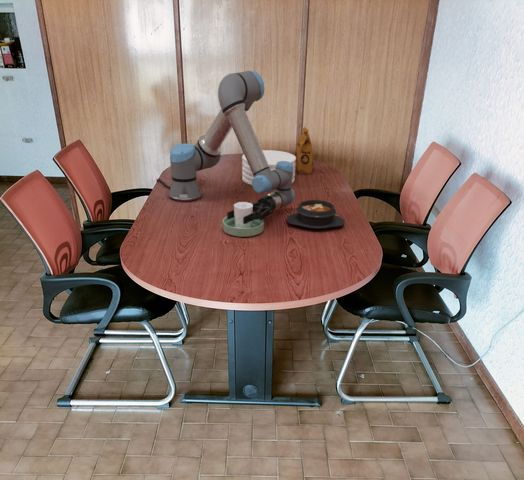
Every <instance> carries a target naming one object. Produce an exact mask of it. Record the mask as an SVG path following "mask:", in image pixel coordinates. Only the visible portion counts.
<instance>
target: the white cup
mask: <svg viewBox="0 0 524 480" xmlns="http://www.w3.org/2000/svg"><path fill="white" fill-rule="evenodd" d="M251 203H252V202H250V203H248V201H238V202H235V203H234V204H233V210H234V218H235V228H251V227H252V221H250V222H248V223H246V224H243V217H245V216H247V215H249V214H252V213H254V212H253V204H251Z"/></svg>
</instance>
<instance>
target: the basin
mask: <svg viewBox="0 0 524 480" xmlns="http://www.w3.org/2000/svg"><path fill="white" fill-rule="evenodd" d="M264 220H265V219H263V220H260V219H258V220H256V219H255V220H253V221H252V227H251V228H235V218H234V217H233V218H230V219H227V216H225V217H224V218H223V219H222V223H221V224H222V230H223V232H224V233H226V234H228V235H230V236H233V237H239V238H249V237H254V236H257V235H260V234H261V233H263V232H264V229H265V221H264Z"/></svg>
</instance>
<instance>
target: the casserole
mask: <svg viewBox="0 0 524 480" xmlns="http://www.w3.org/2000/svg"><path fill="white" fill-rule="evenodd" d="M296 212H297V213H292V214H290V215H288V216H287V217H286V221H287V223H288V224H290V225H293V226H299V227H302V228H303V227H304V228H308V229H313V230H314V229H315V230H322V229H328V228H336V227H341V226H344V224H345V219H344V218H343V217H341V216H339V215H336V213H337V210H336V208H335V205H334V204H333V203H331V202H329V201H326V200H320V199H307V200H304V201H301V202H300V203H299V204H298V206H297V207H296Z"/></svg>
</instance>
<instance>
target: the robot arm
mask: <svg viewBox="0 0 524 480" xmlns="http://www.w3.org/2000/svg"><path fill="white" fill-rule="evenodd" d="M265 89H266V88H265V82H264V79H263V78H262V76H261V75H260V74H259V72H257V71H255V70H246V71H245V70H244V71H240V72H232V73H231V72H230V73H228V74H226V75H225V76H224V77H223V78H222V79H221V81H220V82H219V85H218V88H217V97H218V103H219V106H220V110H219V112H218V113H217V115H216V117H215V118H214V120H213V121H212V123H211V125H210V126H209V128H208V130H207V131H206V133H205V134H203V135H201V136H200V137H199V138H198V140H197V142H196V143H195V144H193V143H189V142H187V143H186V142H184V143H179V144H175V145H173V146H172V147H171V148H170V150H169V161H170V172H171V183H170V185H168V184H166V183H165V182H164V181H163V180H162V179H160V178H157V179H156V180H155V181H156V182H160V183H161V184H162V185H163V186H164V187H165V188H168V189H170V190H169V191H168V193H169V194H168V197H169V198H170V200H172V201H176V202H194V201H197V200H199V199H200V198H201V197H202V191H201V189H200V186H199V184H198V180H197V173H198V172H199V171H203V170H206V169H211V168H214V167H215V166H217V165H218V164H219V162H220V161H221V158H222V155H221V154H222V145H223V144H224V142H225V140H226V139H227V138H228V136H229V134H230V133H231V131H232V130H233V133H234V134H235V138H236V139H237V141H238V143H239V146H240V147H241V150H242V153H243V155H245V157H246V160H247V162H248V164H249V166H250V169H251V171H252V173H253V175H254V178H253V181H252V185H251V186H252V189H253V190H254V192H255V193H256V194H260V195H262V194H265V193H266V194H265V195H263V196H261V197H259V198H258V199H257V201H256V202H251V201H250V200H248V201H247V202H248V203H251V204H253V213H252V214H249V215H247V216H245V217H243V224H246V223H248V222H250V221H253V220H255V219H256V220H258V219H260V220H265V219H266V218H267V217H269V216H271V215H273V214H274V212H275V211H277V210H279V209H282V208H284V207H286V206H289V205H290V204H292V203H293V202H294V200H295V199H296V198H295V197H296V194H295V191H294V189H293V188H292V185H293V183H292V176H293V164H292V163H290V162H287V161H279V162H277V164H276V167H275V168H276V169H275V170H272V171H271V170H270V168H269V165H268V163H267V161H266V158H265V156H264V154H263V151H262V150H263V149H262V147H261V145H260V142H259V140H258V138H257V135H256V133H255V131H254V128H253V125H252V124H251V121H250V119H249V116H248V114H247V112H248V111H249V110H250V109H251V107H252V106H253V104H254V103H255V102H258V101H260V100H261V99H262V98H263V97H264V94H265ZM271 191H272V192H271ZM267 193H268V194H267ZM226 215H227V216H226V217H227V219H230V218H233V217H234V209H232V210H229V211H227V212H226Z"/></svg>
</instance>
